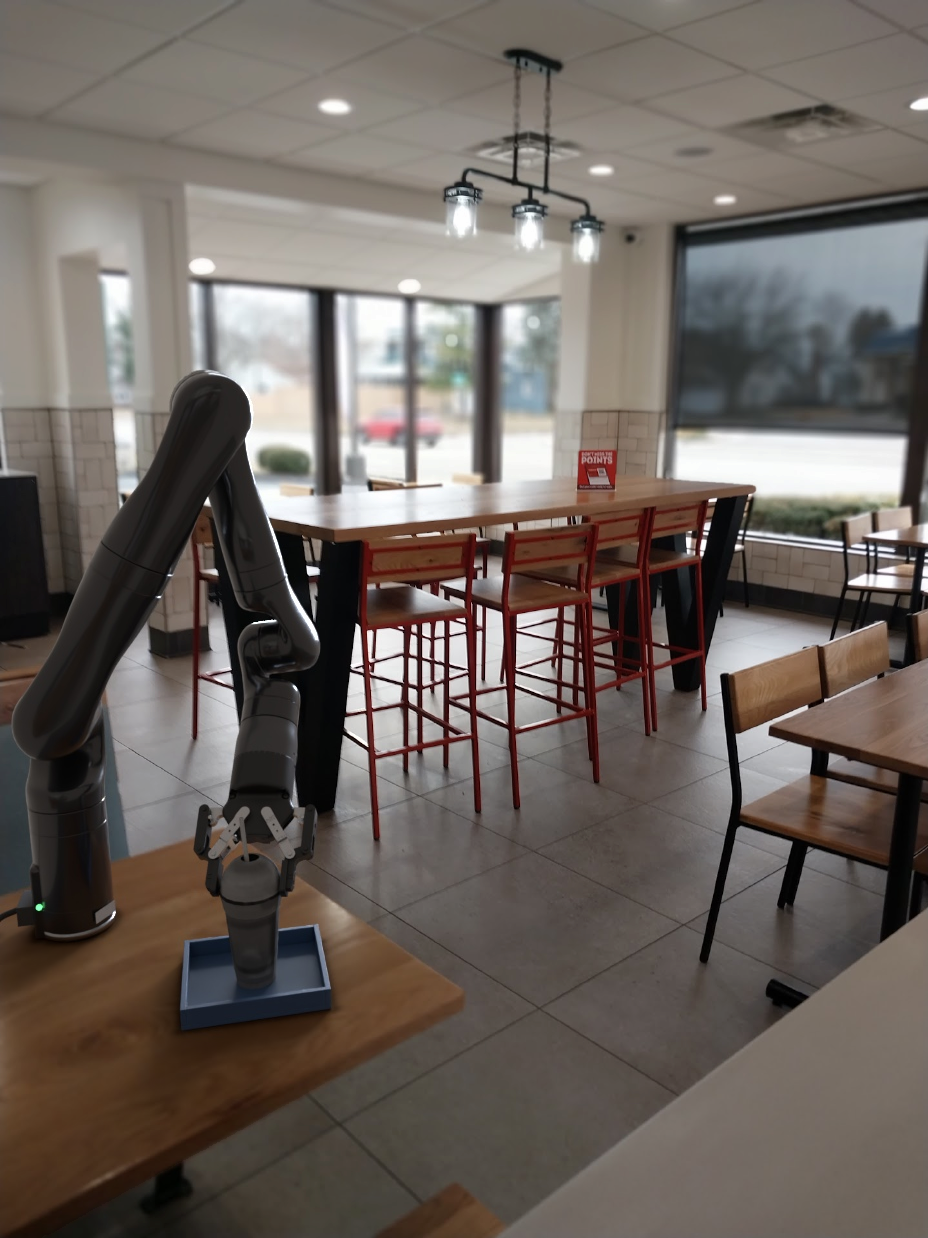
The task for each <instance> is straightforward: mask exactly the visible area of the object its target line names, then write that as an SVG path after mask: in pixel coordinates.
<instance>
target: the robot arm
mask: <svg viewBox="0 0 928 1238" xmlns="http://www.w3.org/2000/svg"><path fill="white" fill-rule="evenodd" d="M168 408H169V417H168V421H167V425H166V428H165V430H164V433H163V435H162V437H161V441H160V443H159V445H158V448H157V450H156V452H155V454H154V458H153V460H152V462H151V464H150V465H149V468H148V470H147V471H146V473H145V475H144V476H143V478H142V479H141V481H140V482H139V483H138V484H137V486H136V487H135V488H134V490H133V491H132V492H131V494H130V495H129V496H128V498H126V500H125V501H124V503H123V504H122V505H121V507H120V508H119V510H118V511H117V512H116V514H115V515H114V517H113V518H112V520H111V521H110V522H109V524H108V526H107V528H106V530H105V531H104V533H103V535H102V537H101V538H100V540H99V542H98V543H97V546H96V548H95V550H94V552H93V554H92V557H91V558H90V560H89V562H88V564H87V567H86V569H85V571H84V573H83V576H82V578H81V580H80V583H79V585H78V587H77V589H76V592H75V594H74V596H73V599H72V601H71V603H70V606H69V608H68V611H67V614H66V616H65V619H64V622H63V624H62V628H61V630H60V632H59V634H58V637H57V639H56V641H55V643H54V645H53V647H52V649H51V651H50V652H49V654H48V656H47V657H46V659H45V661H44V662H43V664H42V666H41V667H40V669H39V671H38V672H37V674H36V675H35V677H34V678H33V680H32V681H31V683H30V684H29V686H28V687H27V689H26V690H25V691H24V693H23V694H22V696H21V697H20V698H19V700H18V701H17V703H16V704H15V706H14V709H13V711H12V715H11V733H12V737H13V739H14V741H15V743H16V745H17V747H18V748H19V749H20V750H21V751H22V752H23V753H24V755H26V756H28V757H29V758H30V759H29V769H28V774H27V779H26V782H25V801H26V809H27V818H28V828H29V829H28V830H29V838H30V839H29V841H30V848H31V861H32V862H31V864H30V867H29V870H28V874H29V875H28V876H29V883H30V884H29V885H30V889H26V890H22V893H21V896H20V898H19V900H18V903H17V905H16V906H15V907H14V908H11V909H8V910H6V911H4V912H2V913H0V923H1V922H2V921H4V920H6V919H7V918H9V917H12V916H15V915H16V920H17V921H16V922H17V927H19V928H21V927H29V926H34V933H35V939H37V940H39V939H46V940H49V941H53V942H73V941H79V940H84V939H88V938H90V937H93V936H96V935H98V934H100V933H102V932H104V931H105V930H107V929H109V928H110V927H111V926H112V925H113V923H114V922H115V921H116V917H117V912H116V899H115V898H114V885H113V873H112V872H113V871H112V860H111V847H110V836H109V834H110V833H109V822H108V810H107V798H106V797H107V796H106V773H107V743H106V726H105V724H106V723H105V712H104V711H105V710H104V705H103V704H104V703H103V700H102V698H103V695H104V692H105V691H106V688H107V686H108V684H109V680H110V679H111V677H112V675H113V673H114V670H115V669H116V668H117V666H118V664H119V662H120V661H121V659H122V657H124V655H125V653H126V652H127V651H128V650H129V648H130V647H131V645H132V644H133V642H134V641H135V640H136V639H137V637H138V636H139V634H140V633H141V632H142V630H143V628H144V627H145V626H146V624H147V622H148V621H149V619H150V618H151V616H152V615H153V613H154V612H155V610H156V608H157V606H158V604H159V603H160V601H161V600H162V597H163V596H164V594H165V592H166V590H167V588H168V586H169V584H170V583H171V580H172V579H173V576H174V574H175V572H176V570H177V569H178V566H179V565H180V564H179V563H180V561H181V560H182V557H183V554H184V553H185V551H186V548H187V546H188V544H189V542H190V539H191V537H192V535H193V532H194V530H195V527H196V524H197V522H198V520H199V518H200V515H201V512H202V510H203V508H204V506H205V503H206V501H207V499H208V502H209V505H210V509H211V513H212V517H213V520H214V524H215V529H216V532H217V536H218V540H219V544H220V545H219V546H220V548H221V552H222V556H223V559H224V563H225V566H226V570H227V573H228V576H229V580H230V584H231V586H232V590H233V593H234V596H235V600H236V602H237V604H238V606H239V607H240V608H241V609H243V610H244V611H249V612H254V613H255V612H257V613H261V614H267V615H269V616H270V617H272V618H273V619H274V620H273V619H271V620H265V621H264V620H263V621H258V622H253V623H250V624H248V625H247V626H245V627H244V629H243V630H242V631H241V633H240V634H239V637H238V639H237V654H238V660H239V664H240V669H241V670H240V671H241V675H242V676H241V677H242V686H243V687H242V688H243V706H242V710H241V719H240V726H239V730H238V733H237V737H236V740H235V746H234V752H233V753H234V754H233V761H232V768H231V776H230V782H229V789H228V797H227V800H226V802H225V804H224V805H223V807H210V806H209V805H208V804H206V803H203V804H201V805H200V806H199V807H198V812H197V821H196V827H195V835H194V842H193V852H194V854H196V856H197V858H198V859H199V860H200V861H206V862H207V867H206V873H205V874H206V875H205V880H204V885H205V888H206V890H207V891H208V892H209V894H210V896H211V897H212V898H220V895H219V891H220V885H221V879H222V876H223V873H224V864H223V863H224V862H225V860H226V859H227V858H228V856H229V855H230V854H231V853H232V852H234V851H235V850H236V849H237V847H239V845H240V844H241V843H242V838H241V831H240V823H239V817H243V819H244V826H245V833H246V841H247V845H252V844H254V843H260V844H263V845H266V844H267V845H269V844H271V843H273V842H274V841H275V842H276V845H277V846H278V848H279V849H280V851H281V853H282V854H283V857H284V858H283V859H282V860H281V868H280V874H281V875H280V885H279V894H280V896H281V897H282V898H288V897H289V893H293V891H294V889H295V887H296V886H295V885H296V884H295V883H296V873H297V867H298V864H299V863H301V862H303V861H310V860H312V859H313V858H314V855H315V847H316V837H317V828H318V812H317V808H316V806H315V805H314V804H311V803H309V804H307V805H306V806H305V807H303V806H302V807H300V806H296V807H295V806H294V804H293V796H294V787H295V786H294V785H295V777H296V766H297V763H298V747H299V746H298V744H299V743H298V725H299V716H300V708H301V694H300V690H299V689H298V688H297V686H296V685H295V684H294V683H292V682H290V681H288V680H284V679H281V678H275V677H270V675H272V674H273V675H274V674H282V673H290V672H299V671H305V670H307V669H308V670H309V669H310V668H312V667H313V666H314V665H316V663H317V661H318V659H319V656H320V652H321V642H320V637H319V633H318V631H317V629H316V627H315V624H314V623H313V622H312V619H311V617H310V616H309V615H308V613H307V611H306V610H305V609H304V607H303V605H302V604H301V602H300V600H299V598H298V596H297V594H296V593H295V591H294V589H293V587H292V586H291V584H290V583H291V582H290V581H289V577H288V574H287V569H286V567H285V563H284V559H283V556H282V552H281V549H280V546H279V542H278V540H277V536H276V533H275V530H274V528H273V526H272V523H271V520H270V517H269V514H268V511H267V510H266V508H265V505H264V501H263V499H262V497H261V494H260V491H259V488H258V485H257V482H256V479H255V475H254V473H253V472H254V471H253V468H252V464H251V460H250V456H249V455H250V454H249V448H248V441H247V437H248V435H249V433H250V430H251V428H252V426H253V425H252V424H253V419H254V411H253V404H252V401H251V399H250V396H249V394H248V392H247V391H246V390H245V388H244V387H243V386H242V385H241V384H240V383H239V381H236V380H235V379H233V378H232V377H230V376H229V375H227V374H226V373H224V372H221V371H217V370H213V369H198V370H193V371H191V372H188V373H187V374H186V375H184V376H183V377H181V378H180V380H178V381H177V383H176V384H175V385H174V386H173V389H172V392H171V394H170V397H169V406H168ZM222 818H224V820H225V822H226V824H227V826H226V827H225V828H224V830H223V831H222V832H221V833H220V834H219V837H218V840H217V841H216V842H215V843H214V845H213V846H212V847H210V846H211V839H212V831H213V827H216V826H217V825H218V823H219V821H220V820H221V819H222ZM295 818H296V819H297V821H298V823H299V825H300V826H301V827H302V832H301V841H300V846H297V847H293V846H292V844H291V842H290V841H289V838H288V837H287V835H286V833H285V830H286V829H287V828H288V826H289V825H290V824H292V822H293V821H294V819H295Z"/></svg>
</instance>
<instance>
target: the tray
mask: <svg viewBox="0 0 928 1238" xmlns="http://www.w3.org/2000/svg"><path fill="white" fill-rule="evenodd" d="M182 955H183V957H182V970H181V971H182V972H181V987H180V988H181V989H180V1004H179V1015H180V1016H179V1017H180V1029H181V1031H189V1030H195V1029H202V1028H208V1027H216V1026H221V1025H222V1026H223V1025H229V1024H236V1023H244V1022H250V1021H255V1020H264V1019H271V1018H277V1017H284V1016H290V1015H298V1014H305V1013H310V1012H311V1013H312V1012H318V1011H319V1012H320V1011H324V1010H332V988H331V983H330V978H329V973H328V967H327V961H326V958H325V952H324V948H323V942H322V937H321V932H320V927H319V924H318V923H315V924H308V925H300V926H293V927H292V926H291V927H284V928H279V929H278V950H277V967H276V977H275V980H274V981H273V982H272V983H271V984H270V985H268V986H266V987H264V988H261V989H254V990H250V989H245V988H242V987H240V986H239V985H238V983H237V980H236V974H235V970H234V965H233V959H232V953H231V946H230V940H229V934H227V935H220V936H211V937H204V938H194V939H187V940H184V941H183V954H182Z"/></svg>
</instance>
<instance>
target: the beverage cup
mask: <svg viewBox="0 0 928 1238" xmlns="http://www.w3.org/2000/svg"><path fill="white" fill-rule="evenodd" d="M239 823H240V831H241V838H242V842H241V845H242V852H243V853H242V854H241V855H239V856H237V857H235V858H234V859H232V860H231V861H230V863H229V864H228V865H227V866H226V868H225V869H224V870H223V874H222V879H221V885H220V891H219V898H220V901H221V904H222V908H223V911H224V914H225V920H226V925H227V926H226V927H227V933H228V935H229V940H230V946H231V953H232V959H233V965H234V970H235V974H236V980H237V983H238V985H239V986H240V987H242V988H245V989H250V990H254V989H261V988H264V987H266V986H268V985H270V984H271V983H272V982H273V981H274V980H275V977H276V967H277V950H278V929H280V928H279V927H280V909H281V908H280V906H281V904H282V898H283V897H281V896H280V894H279V885H280V875H281V870H279V868H278V866H277V864H276V863H275V862H274V861H273V859H271V858H270V857H269V856H267V855H265V854H261V853H258V852H249V849H248V844H247V841H246V833H245V826H244V819H243V817H239Z"/></svg>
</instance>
